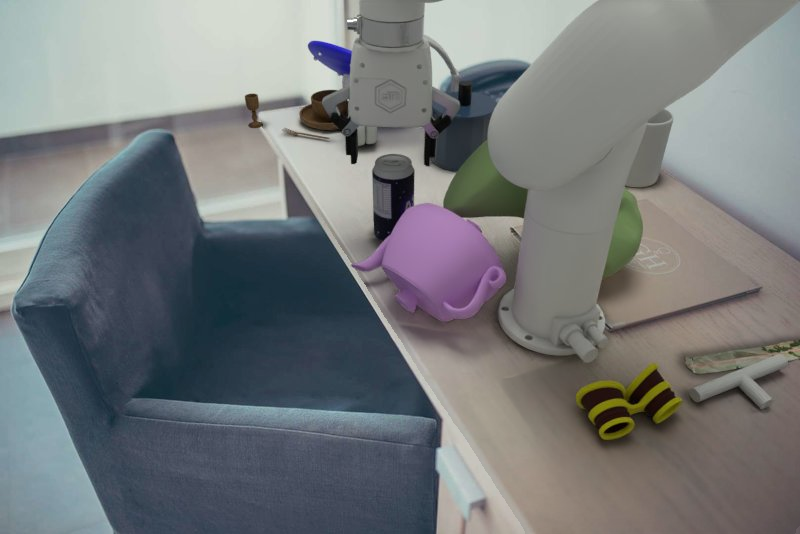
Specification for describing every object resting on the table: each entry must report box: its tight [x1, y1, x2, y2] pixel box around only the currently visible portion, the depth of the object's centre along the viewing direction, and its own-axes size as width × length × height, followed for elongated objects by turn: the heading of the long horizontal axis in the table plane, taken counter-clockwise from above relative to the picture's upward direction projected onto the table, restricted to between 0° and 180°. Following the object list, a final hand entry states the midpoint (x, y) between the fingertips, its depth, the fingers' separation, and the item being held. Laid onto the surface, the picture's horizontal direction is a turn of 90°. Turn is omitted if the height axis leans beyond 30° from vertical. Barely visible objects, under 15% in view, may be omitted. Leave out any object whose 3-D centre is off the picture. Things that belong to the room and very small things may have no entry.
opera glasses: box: [575, 362, 683, 441], centre depth 65 cm, size 10×5×5 cm, turn 112°
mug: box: [625, 108, 674, 188], centre depth 104 cm, size 12×8×11 cm
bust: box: [442, 139, 644, 280], centre depth 81 cm, size 14×15×25 cm
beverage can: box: [371, 153, 415, 243], centre depth 89 cm, size 6×6×12 cm
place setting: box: [244, 89, 349, 140], centre depth 125 cm, size 18×20×6 cm
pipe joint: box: [689, 354, 789, 410], centre depth 68 cm, size 12×2×4 cm
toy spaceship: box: [307, 40, 352, 101], centre depth 125 cm, size 25×25×7 cm
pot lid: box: [432, 80, 498, 120], centre depth 106 cm, size 11×11×5 cm
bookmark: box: [684, 339, 800, 375], centre depth 73 cm, size 3×21×1 cm, turn 101°
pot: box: [430, 110, 492, 173], centre depth 110 cm, size 10×10×10 cm
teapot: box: [350, 202, 507, 322], centre depth 77 cm, size 20×13×12 cm
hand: (390, 160), depth 86 cm, fingers open, 9 cm apart
